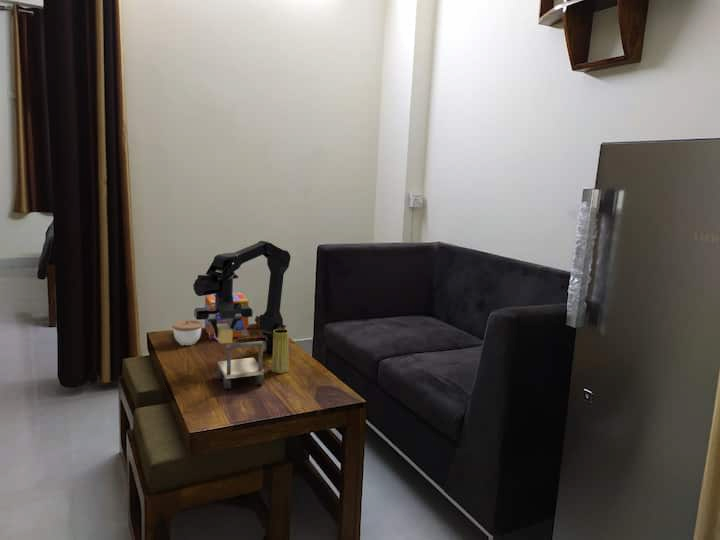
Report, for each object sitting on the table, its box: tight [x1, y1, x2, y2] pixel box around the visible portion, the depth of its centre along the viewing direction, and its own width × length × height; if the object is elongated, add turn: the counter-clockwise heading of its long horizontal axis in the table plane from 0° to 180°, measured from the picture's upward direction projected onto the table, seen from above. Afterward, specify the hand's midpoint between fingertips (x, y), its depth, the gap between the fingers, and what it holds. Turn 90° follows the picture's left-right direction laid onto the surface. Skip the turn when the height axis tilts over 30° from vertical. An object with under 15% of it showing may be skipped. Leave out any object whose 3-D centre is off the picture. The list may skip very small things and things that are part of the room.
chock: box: [214, 324, 233, 344], centre depth 183 cm, size 4×8×4 cm, turn 29°
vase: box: [270, 328, 290, 374], centre depth 185 cm, size 6×6×14 cm
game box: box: [204, 292, 250, 340], centre depth 225 cm, size 16×16×16 cm
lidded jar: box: [172, 319, 203, 347], centre depth 210 cm, size 11×11×9 cm
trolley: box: [217, 340, 265, 390], centre depth 174 cm, size 12×13×15 cm
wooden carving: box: [246, 315, 287, 339], centre depth 221 cm, size 16×5×10 cm, turn 111°
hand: (223, 336), depth 183 cm, fingers closed on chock, 4 cm apart
